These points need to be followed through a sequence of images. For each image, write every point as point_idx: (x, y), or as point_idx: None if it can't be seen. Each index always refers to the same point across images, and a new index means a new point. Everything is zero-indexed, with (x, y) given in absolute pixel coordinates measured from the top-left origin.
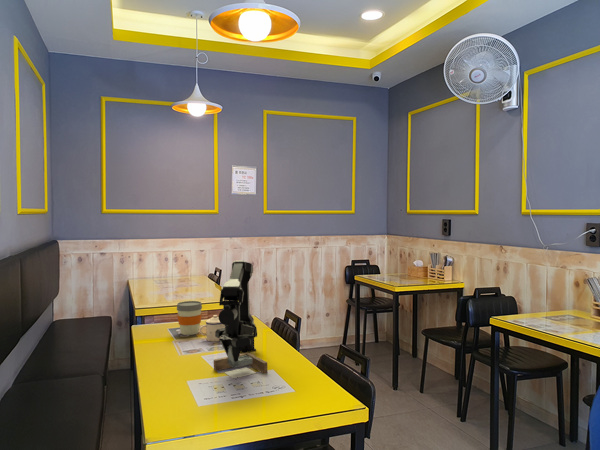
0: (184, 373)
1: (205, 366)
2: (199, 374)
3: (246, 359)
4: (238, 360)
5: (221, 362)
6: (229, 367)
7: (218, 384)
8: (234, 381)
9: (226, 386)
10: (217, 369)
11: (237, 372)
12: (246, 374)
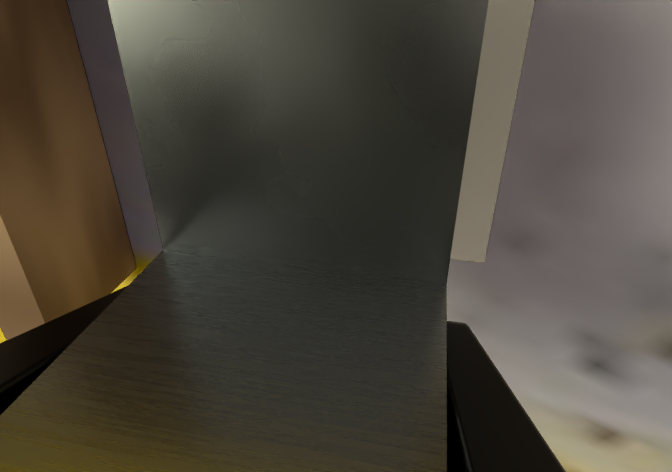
0: None
1: None
2: None
3: (466, 50)
4: (386, 246)
5: (57, 246)
6: (88, 97)
7: None
8: (574, 293)
9: (625, 412)
10: (124, 253)
11: None
12: (503, 47)
